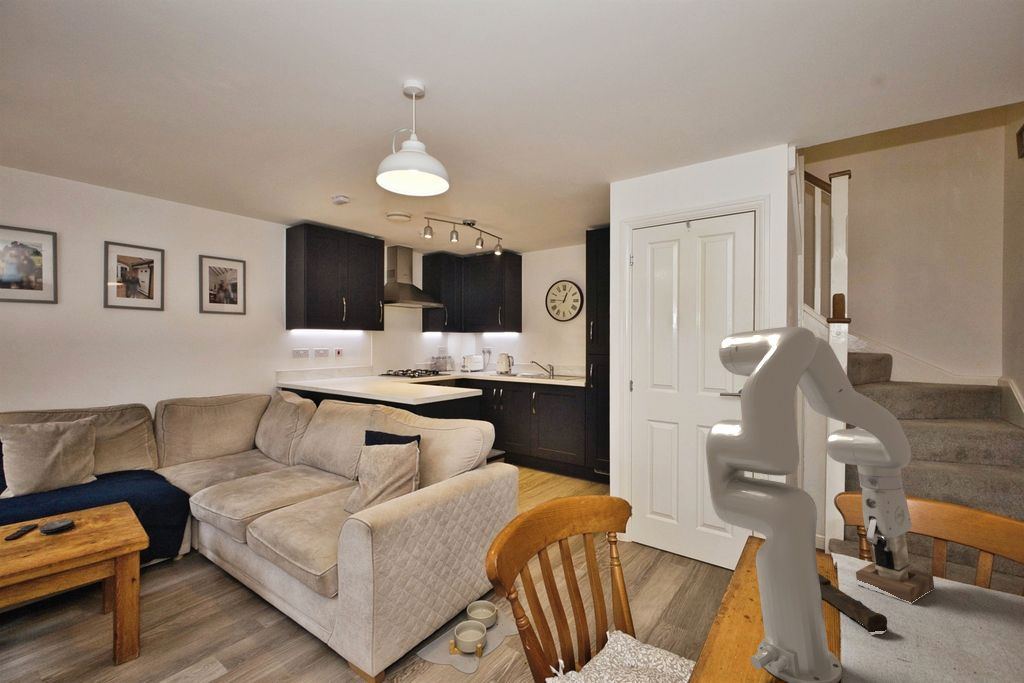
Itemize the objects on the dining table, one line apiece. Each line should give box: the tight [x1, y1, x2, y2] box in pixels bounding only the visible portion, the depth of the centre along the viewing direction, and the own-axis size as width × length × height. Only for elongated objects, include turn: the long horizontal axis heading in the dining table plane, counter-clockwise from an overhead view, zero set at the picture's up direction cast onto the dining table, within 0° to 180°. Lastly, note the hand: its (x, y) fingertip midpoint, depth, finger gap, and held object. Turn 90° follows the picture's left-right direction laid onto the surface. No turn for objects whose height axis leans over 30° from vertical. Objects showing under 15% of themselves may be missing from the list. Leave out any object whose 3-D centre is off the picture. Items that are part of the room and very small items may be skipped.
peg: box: [872, 531, 911, 583], centre depth 101 cm, size 5×5×12 cm
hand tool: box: [818, 572, 888, 633], centre depth 95 cm, size 19×4×5 cm, turn 1°
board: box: [855, 562, 936, 603], centre depth 100 cm, size 10×10×3 cm
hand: (891, 563), depth 101 cm, fingers closed on peg, 4 cm apart
